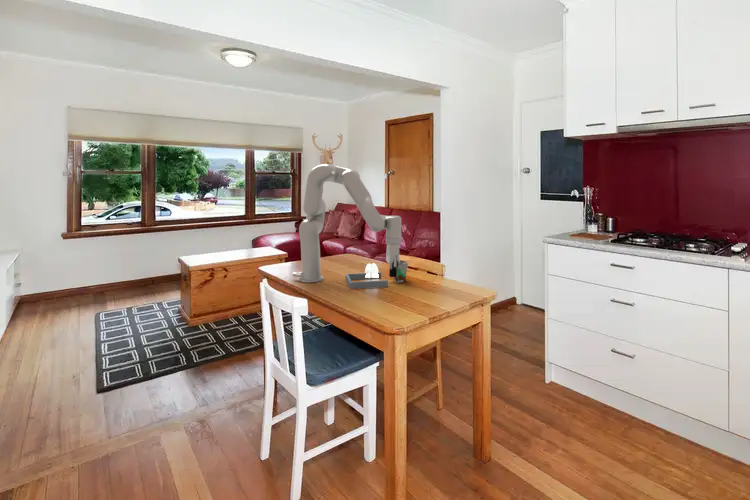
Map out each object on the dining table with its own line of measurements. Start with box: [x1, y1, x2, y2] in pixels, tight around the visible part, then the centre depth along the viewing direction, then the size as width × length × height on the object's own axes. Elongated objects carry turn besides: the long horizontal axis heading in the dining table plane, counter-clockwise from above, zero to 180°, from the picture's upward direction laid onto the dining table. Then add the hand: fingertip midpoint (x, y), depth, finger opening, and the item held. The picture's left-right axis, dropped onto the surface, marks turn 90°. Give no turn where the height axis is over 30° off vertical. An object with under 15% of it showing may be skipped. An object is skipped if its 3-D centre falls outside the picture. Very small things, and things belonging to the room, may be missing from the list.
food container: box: [393, 259, 409, 285], centre depth 212 cm, size 12×6×10 cm, turn 8°
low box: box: [344, 271, 389, 290], centre depth 209 cm, size 19×18×3 cm
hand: (392, 276), depth 211 cm, fingers closed
